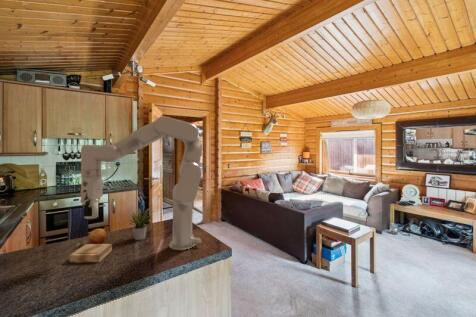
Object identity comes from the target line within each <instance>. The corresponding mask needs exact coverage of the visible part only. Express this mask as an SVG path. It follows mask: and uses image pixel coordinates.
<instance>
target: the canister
mask: <svg viewBox="0 0 476 317" xmlns="http://www.w3.org/2000/svg"><path fill="white" fill-rule="evenodd" d="M86 200H90V199H86ZM98 201H99V202H100V200H99V198H98V199H95V200H92V203H91V207H92V216H84V219H86V220H93V219H97V218H99V212H98ZM86 202H88V203H89V201H86Z"/></svg>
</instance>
